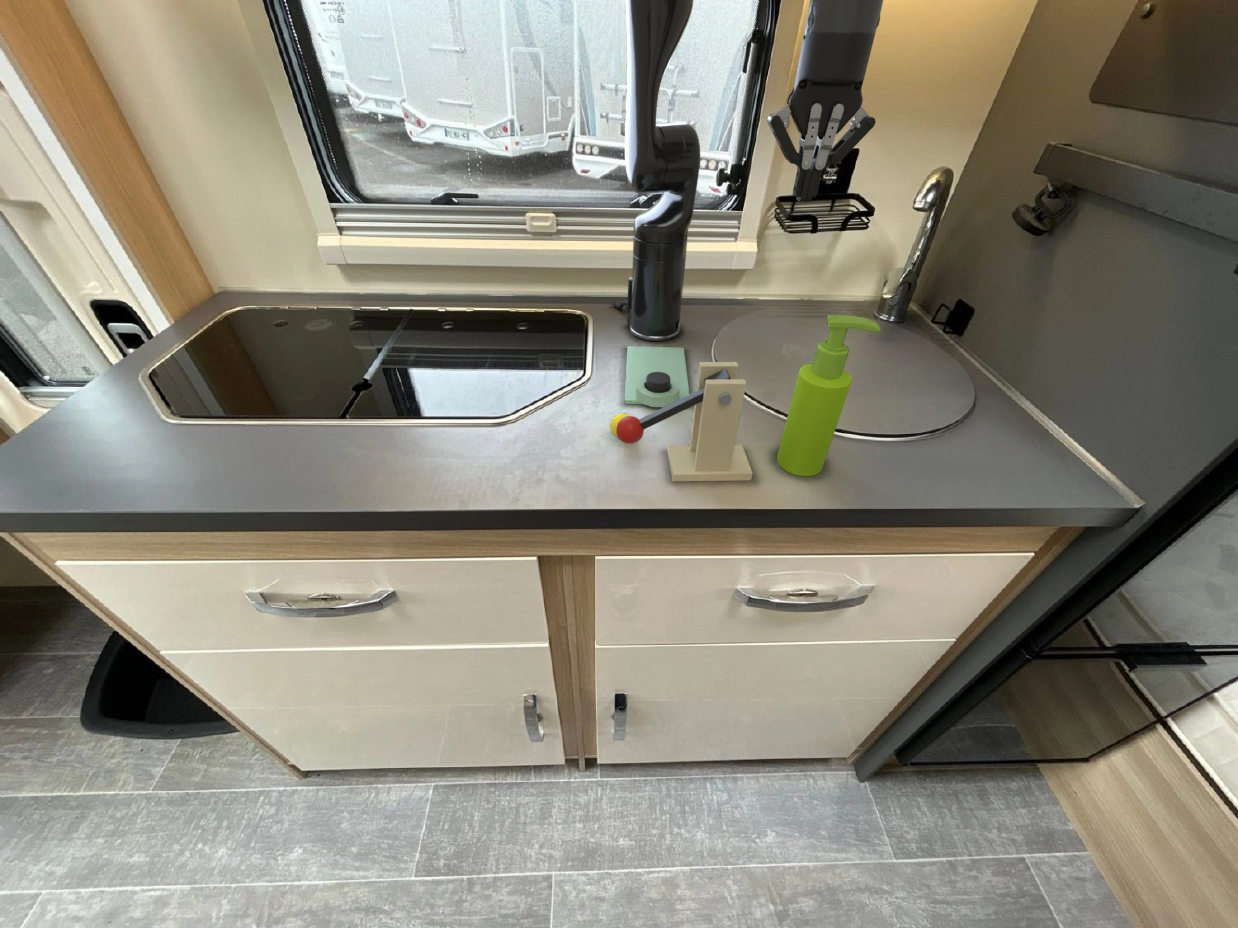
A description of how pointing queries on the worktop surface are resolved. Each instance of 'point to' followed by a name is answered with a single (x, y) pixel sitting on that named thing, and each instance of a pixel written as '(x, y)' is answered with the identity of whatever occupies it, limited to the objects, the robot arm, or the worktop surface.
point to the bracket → (713, 431)
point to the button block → (655, 360)
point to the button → (658, 382)
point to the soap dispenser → (819, 400)
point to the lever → (661, 413)
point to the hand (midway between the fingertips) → (803, 200)
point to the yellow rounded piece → (616, 422)
